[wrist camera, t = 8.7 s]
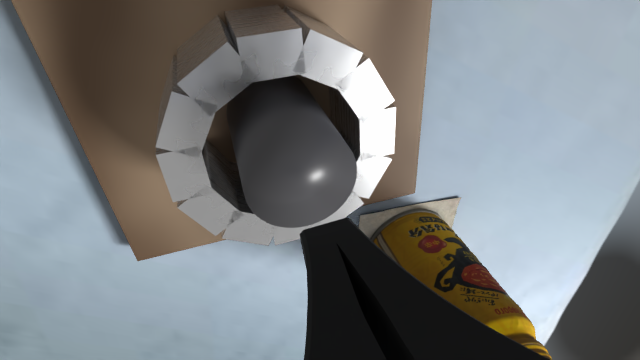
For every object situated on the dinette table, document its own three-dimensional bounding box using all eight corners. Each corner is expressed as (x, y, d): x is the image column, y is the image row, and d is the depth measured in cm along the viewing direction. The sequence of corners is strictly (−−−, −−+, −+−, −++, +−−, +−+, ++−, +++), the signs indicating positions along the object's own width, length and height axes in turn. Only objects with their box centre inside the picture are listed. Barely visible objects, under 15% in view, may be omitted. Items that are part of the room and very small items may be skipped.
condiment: (459, 195, 27) (614, 353, 17) (436, 281, 31) (547, 442, 22) (358, 212, 25) (468, 399, 15) (350, 301, 30) (430, 485, 20)
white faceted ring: (358, -7, 17) (400, 13, 13) (360, 171, 22) (390, 215, 19) (131, 24, 15) (119, 55, 12) (193, 209, 20) (195, 265, 17)
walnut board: (427, -87, 17) (439, -87, 16) (407, 184, 25) (415, 192, 24) (2, -45, 13) (-10, -42, 13) (139, 248, 22) (137, 261, 21)
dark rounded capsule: (253, 51, 17) (282, 108, 12) (328, 94, 19) (378, 157, 14) (210, 129, 18) (221, 208, 13) (284, 161, 20) (317, 239, 15)
